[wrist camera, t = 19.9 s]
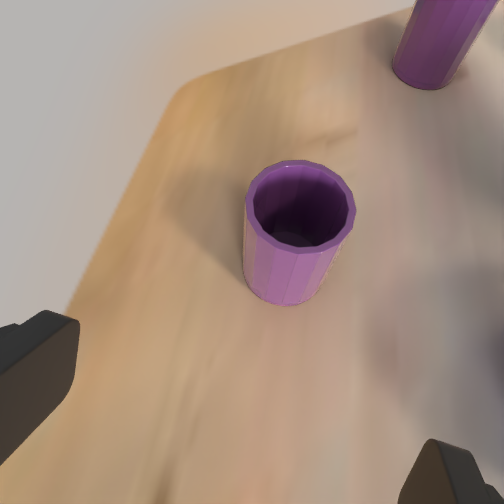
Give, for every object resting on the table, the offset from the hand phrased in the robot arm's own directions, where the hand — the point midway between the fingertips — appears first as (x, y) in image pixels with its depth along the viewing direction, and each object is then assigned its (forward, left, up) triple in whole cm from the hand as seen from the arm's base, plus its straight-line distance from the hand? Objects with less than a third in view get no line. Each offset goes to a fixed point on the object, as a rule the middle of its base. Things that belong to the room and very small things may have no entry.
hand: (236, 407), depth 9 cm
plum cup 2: (-7, -34, -16) cm, 38 cm away
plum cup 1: (0, -11, -16) cm, 19 cm away
